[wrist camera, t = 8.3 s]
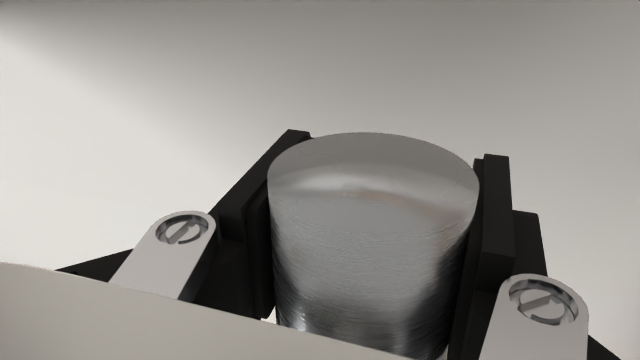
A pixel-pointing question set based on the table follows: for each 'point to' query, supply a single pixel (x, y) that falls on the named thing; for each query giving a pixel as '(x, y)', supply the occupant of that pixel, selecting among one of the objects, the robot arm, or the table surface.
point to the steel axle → (370, 240)
